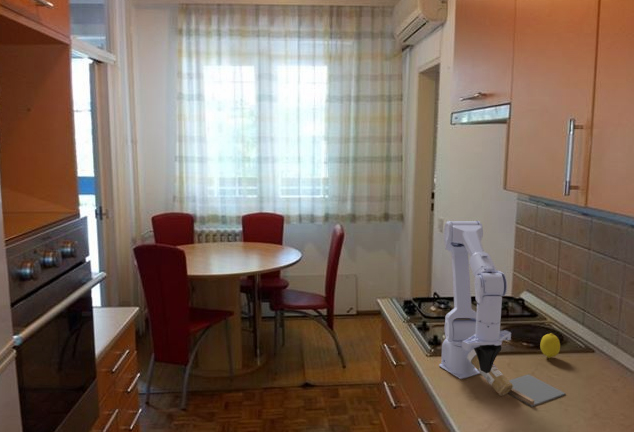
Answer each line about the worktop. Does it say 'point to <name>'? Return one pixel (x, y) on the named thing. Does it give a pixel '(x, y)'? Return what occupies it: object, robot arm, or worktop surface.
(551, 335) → the lemon
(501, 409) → the worktop surface
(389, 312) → the worktop surface
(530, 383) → the mat
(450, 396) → the worktop surface
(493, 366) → the sprinkles bottle
